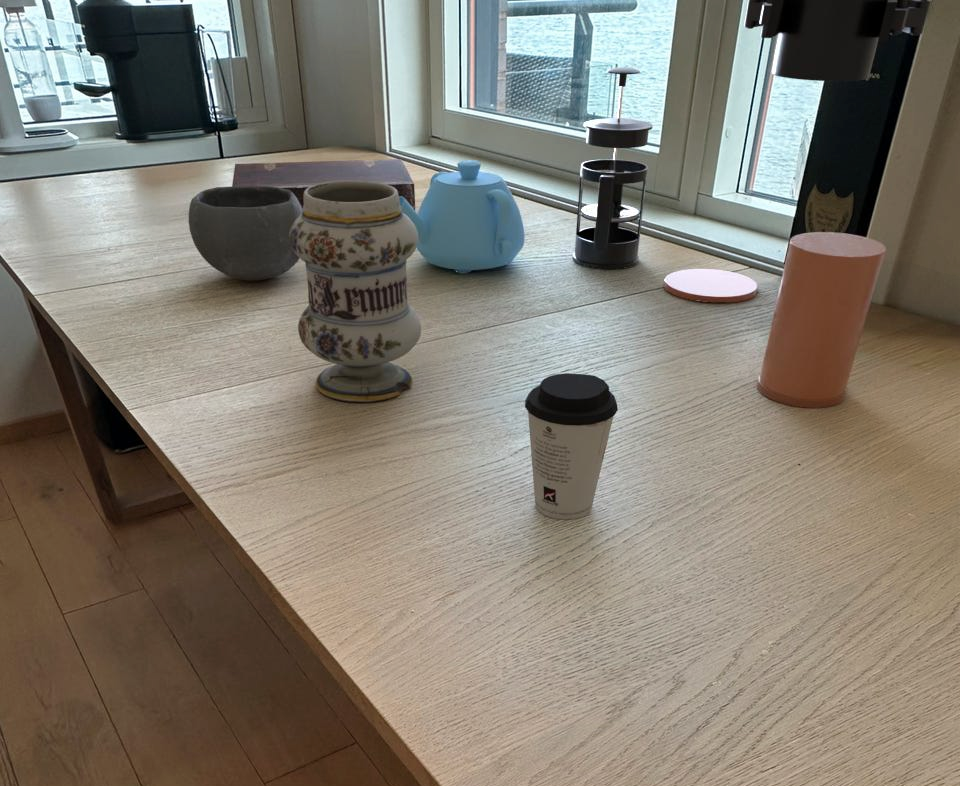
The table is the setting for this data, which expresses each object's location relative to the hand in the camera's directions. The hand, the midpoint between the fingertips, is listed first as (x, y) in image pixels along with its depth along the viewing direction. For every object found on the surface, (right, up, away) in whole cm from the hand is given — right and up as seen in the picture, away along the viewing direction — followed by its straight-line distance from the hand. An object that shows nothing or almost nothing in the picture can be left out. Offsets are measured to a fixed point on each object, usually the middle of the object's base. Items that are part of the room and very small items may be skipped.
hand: (829, 19), depth 75 cm
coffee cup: (-24, -43, -5) cm, 50 cm away
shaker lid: (+2, -1, +6) cm, 6 cm away
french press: (-13, 0, +48) cm, 49 cm away
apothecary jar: (-42, -28, +13) cm, 52 cm away
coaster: (0, -8, +38) cm, 39 cm away
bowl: (-61, -5, +41) cm, 74 cm away
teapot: (-34, -1, +46) cm, 57 cm away
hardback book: (-57, +20, +72) cm, 95 cm away
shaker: (+2, -29, +13) cm, 31 cm away
